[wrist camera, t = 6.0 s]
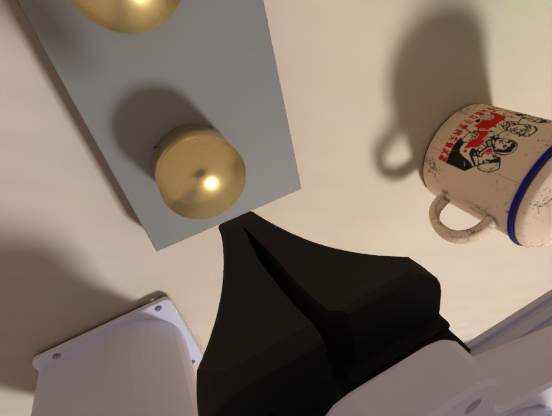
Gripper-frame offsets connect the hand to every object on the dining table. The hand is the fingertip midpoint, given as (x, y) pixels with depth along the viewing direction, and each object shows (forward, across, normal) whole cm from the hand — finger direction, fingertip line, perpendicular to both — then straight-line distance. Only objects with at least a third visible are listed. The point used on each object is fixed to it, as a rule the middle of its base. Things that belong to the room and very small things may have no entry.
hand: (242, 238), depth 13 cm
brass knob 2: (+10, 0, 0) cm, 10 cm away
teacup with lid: (+10, -21, +9) cm, 25 cm away
